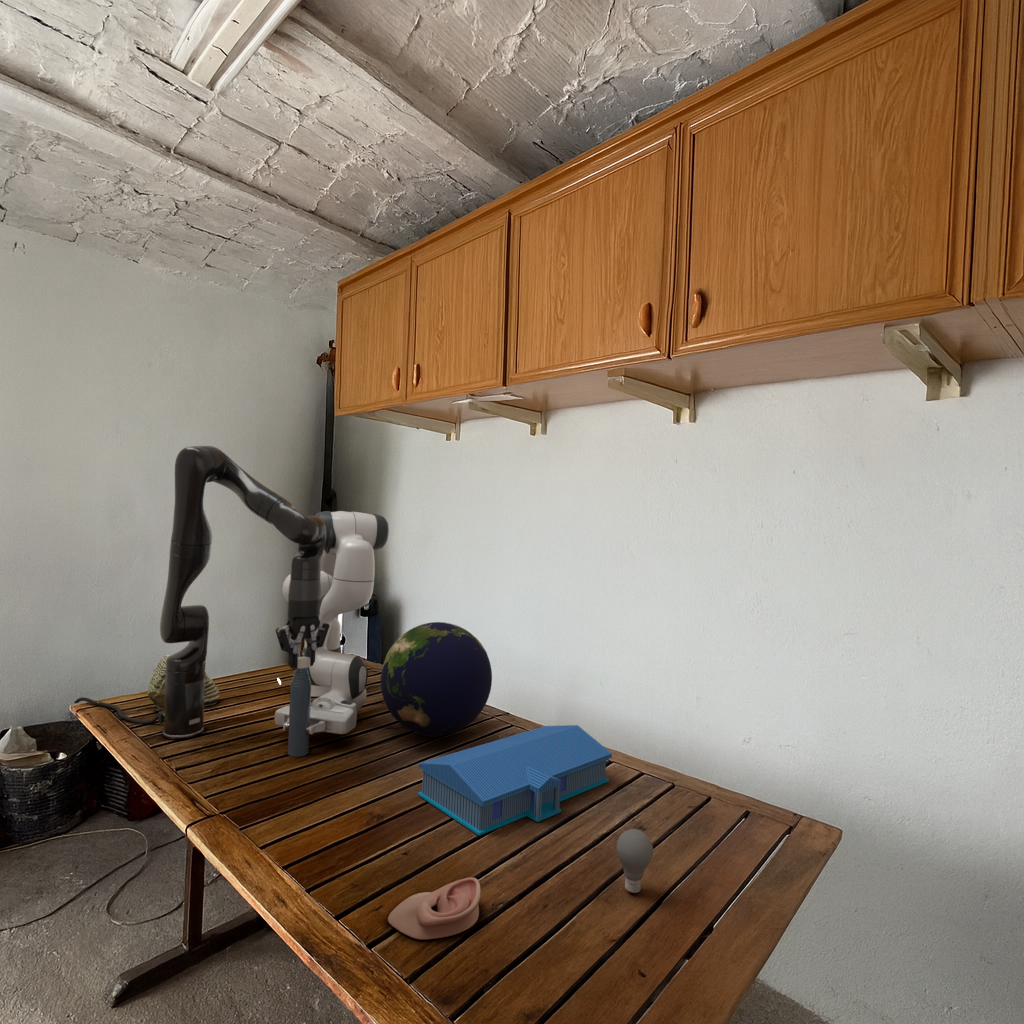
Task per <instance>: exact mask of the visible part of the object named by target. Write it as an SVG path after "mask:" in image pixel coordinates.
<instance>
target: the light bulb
mask: <svg viewBox="0 0 1024 1024" xmlns="http://www.w3.org/2000/svg"><path fill="white" fill-rule="evenodd" d="M615 849H616V854H617V857H618V859H619V861H620V863H621V865H622V867H623V873H624V874H623V875H624V876H625V878H624V888H625V890H627V891H628V892H630V893H634V894H635V893H639V892H640V891H641V889H642V887H641V886H642V879H643V877H644V875H645V871H646V868H647V867H648V866H649V864H650V863H651V861H652V859H653V855H654V847H653V843H652V841H651V838H649V836H648V835H647V834H646V833H645V832H643V831H642V830H641V829H636V828H629V829H627V830H625V831H623V832H622V833H621V834H620V835H619V837H618V839H617V841H616V847H615Z"/></svg>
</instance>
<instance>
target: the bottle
mask: <svg viewBox="0 0 1024 1024" xmlns="http://www.w3.org/2000/svg"><path fill="white" fill-rule="evenodd" d="M311 704H312V696H311V680H310V677H309V673H308V670H307V668H297V669H295V670H294V672H293V674H292V678H291V680H290V684H289V705H290V706H289V731H288V732H287V733H288V737H287V755H288V756H289V757H295V758H297V757H298V758H299V757H304V756H306V755H308V754H309V752H310V734H306V727H307V726H309V725H310V706H311Z"/></svg>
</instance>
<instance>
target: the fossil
mask: <svg viewBox="0 0 1024 1024" xmlns="http://www.w3.org/2000/svg"><path fill="white" fill-rule="evenodd" d="M171 655H172V654H165V655H164V656H163V657H162V658H161V659H160V660H159V662H158V663H157V666H156V667H155V669H154V670H153V672H152V675H151V677H150V680H149V684H148V688H147V697H148V699H149V700H150V701H152V703H153V704H154V706H155V711H158V712H161V711H164V705H165V674H166V660H167V658H168V657H169V656H171ZM220 698H221V696H220V690H219V688H218V686H217V685H216V683H215V682H214V681H213V679H212V678H211V677H209V675H208V674H207V672H206V671H205V693H204V707H207V706H213V705H215V704H217V703H218V701H219V699H220Z"/></svg>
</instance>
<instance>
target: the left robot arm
mask: <svg viewBox="0 0 1024 1024" xmlns="http://www.w3.org/2000/svg"><path fill="white" fill-rule="evenodd" d="M207 483H216V484H218V485H220V486H223V487H225V488H227V489H229V490H230V491H231V492H233V493H234V494H235V495H236V496H237V497H238V498H239V500H240V501H241V502H242V504H243V505H244V506H245V507H246V508H247V509H248V510H249V512H251V513H252V514H254V515H255V516H257V517H259V518H260V519H262V520H263V521H265V522H267V524H269V525H271V526H273V527H274V528H275V529H276V530H277V531H278V532H279V533H281V535H283V536H284V538H286V539H288V540H289V541H290V542H292V543H294V544H297V551H296V553H295V555H293V556H292V558H291V561H290V574H289V575H290V578H291V579H290V584H289V594H288V602H287V617H288V618H287V619H288V620H287V622H286V623H285V624H286V625H284V626H283V627H277V628H276V629H275V633H276V637H277V641H278V644H279V647H280V650H281V651H283V652H285V653H287V654H288V663H287V664H288V667H289V668H290V669H293V670H296V669H297V663H298V657H299V653H298V652H299V648H300V645H301V644H302V641H303V640H304V642H305V641H306V643H307V648H308V650H306V657H309V658H310V666H313V663H314V662H315V651H316V649H317V648H319V647H322V646H323V644H324V641H325V638H326V635H327V632H328V629H329V626H330V625H329V624H327V623H323V622H320V620H319V615H320V600H321V583H320V574H321V571H322V570H321V558H322V555H323V551H324V546H325V542H326V526H325V523H324V522H323V520H322V519H321V518H319V517H317V516H315V515H305V514H303V513H302V512H299V510H297V509H295V508H294V505H293V504H292V502H290V501H289V500H287V499H286V498H285V497H283V496H281V495H280V494H278V493H276V492H275V491H273V490H272V489H270V488H269V487H267V486H265V485H264V484H262V483H261V482H260V481H258V480H257V479H255V478H254V477H253V476H251V475H250V474H249V473H248V472H247V471H245V470H244V469H243V468H242V467H240V465H238V464H237V463H236V462H235V461H233V459H231V458H230V457H229V456H228V455H227V454H226V453H225V452H224V451H222V450H221V449H219V448H218V447H216V446H213V445H193V446H187V447H184V448H182V449H181V450H179V452H178V453H177V456H176V457H175V462H174V507H173V509H174V510H173V519H172V520H173V521H172V530H171V536H170V544H169V545H170V546H169V559H168V560H169V561H168V570H167V571H168V572H167V581H166V588H165V594H164V600H163V603H162V609H161V615H160V621H159V634H160V638H161V640H162V641H163V642H164V644H178V643H188V644H187V645H186V646H184V647H183V648H182V649H180V650H179V651H177V652H175V653H173V654H170V655H171V656H169V657H168V658H167V660H166V674H165V705H164V710H162V711H158V712H157V715H155V716H154V717H153V718H152V719H148V720H141V719H137V718H133V717H130V716H128V715H125V714H124V713H123V711H122V710H121V708H120V707H119V706H117V705H115V704H111V703H108V702H103V701H102V702H101V701H98V700H94V699H91V698H89V697H83V696H81V697H78V698H77V699H76V700H74V701H73V704H78V703H80V702H86V703H89V704H91V705H95V706H101V707H105V708H109V709H112V710H114V711H115V712H116V713H117V715H118V717H119V718H120V719H122V720H125V721H127V722H130V723H133V724H140V725H151V724H154V723H156V722H157V721H158V722H159V723H160V724H163V730H162V737H164V738H166V739H169V740H185V739H190V738H191V739H192V738H194V737H197V736H199V735H202V734H203V732H204V730H205V729H204V726H205V725H204V722H205V721H204V718H205V706H204V693H205V672H206V664H207V663H206V660H207V656H208V641H209V633H210V613H209V610H208V609H207V607H206V606H205V605H203V604H194V605H193V604H192V605H182V603H183V601H184V597H185V595H186V593H187V591H188V590H189V589H190V587H191V585H192V584H193V583H194V582H195V580H196V579H197V578H198V577H199V576H200V574H201V573H202V572H203V571H204V569H206V567H207V565H208V563H209V561H210V558H211V552H212V543H213V533H212V528H211V526H210V522H209V520H208V518H207V516H206V512H205V509H204V499H205V498H204V496H205V488H206V486H207V485H206V484H207ZM317 628H318V632H317V635H316V634H315V631H316V630H317ZM289 633H290V635H289ZM288 635H289V638H288ZM97 702H99V703H97Z"/></svg>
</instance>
